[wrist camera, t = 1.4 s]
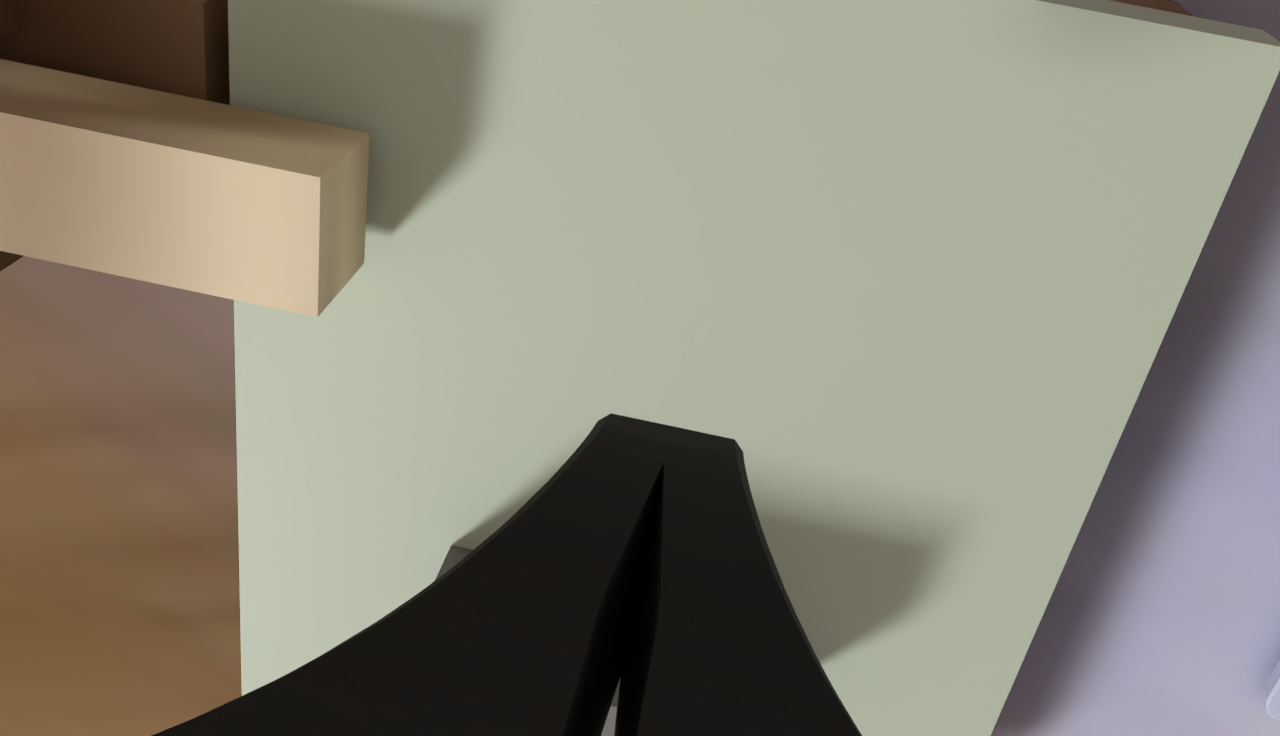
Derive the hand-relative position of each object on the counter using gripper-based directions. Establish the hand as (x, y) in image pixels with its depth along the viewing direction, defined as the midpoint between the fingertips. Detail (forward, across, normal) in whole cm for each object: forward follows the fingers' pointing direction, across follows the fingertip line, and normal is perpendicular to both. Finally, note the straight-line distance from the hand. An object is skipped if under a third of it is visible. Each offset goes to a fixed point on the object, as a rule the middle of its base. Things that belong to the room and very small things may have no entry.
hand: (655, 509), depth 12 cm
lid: (+7, 0, +5) cm, 9 cm away
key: (+6, +8, 0) cm, 10 cm away
